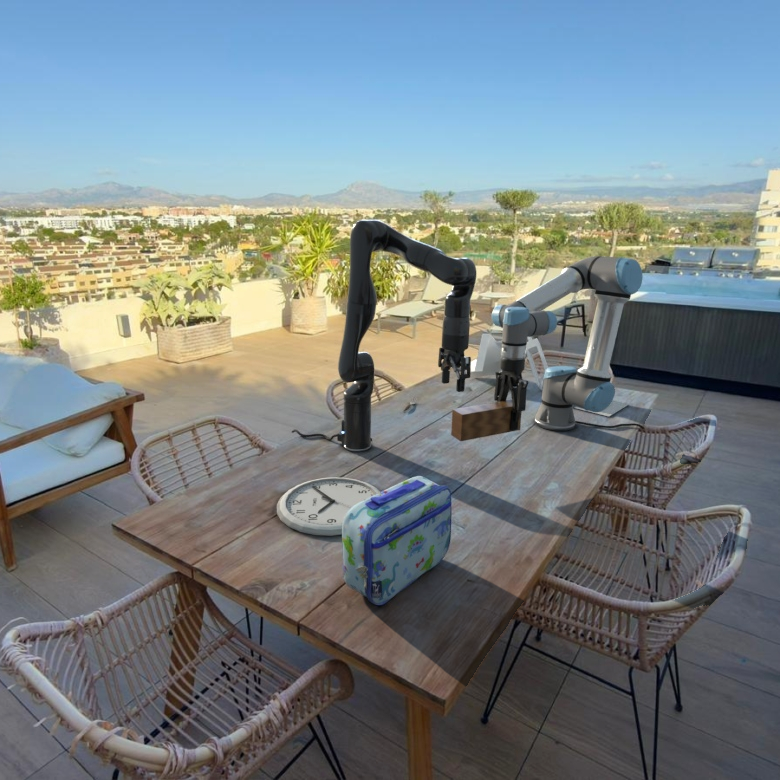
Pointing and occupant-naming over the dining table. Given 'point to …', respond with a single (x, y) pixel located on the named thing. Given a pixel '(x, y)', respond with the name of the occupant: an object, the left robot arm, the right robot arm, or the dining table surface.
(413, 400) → the fork
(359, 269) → the left robot arm
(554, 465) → the dining table surface
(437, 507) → the lunch box
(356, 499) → the wall clock
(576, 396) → the right robot arm
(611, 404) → the grey rectangular panel
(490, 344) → the white plastic object
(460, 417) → the bar
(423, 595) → the dining table surface
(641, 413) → the dining table surface
